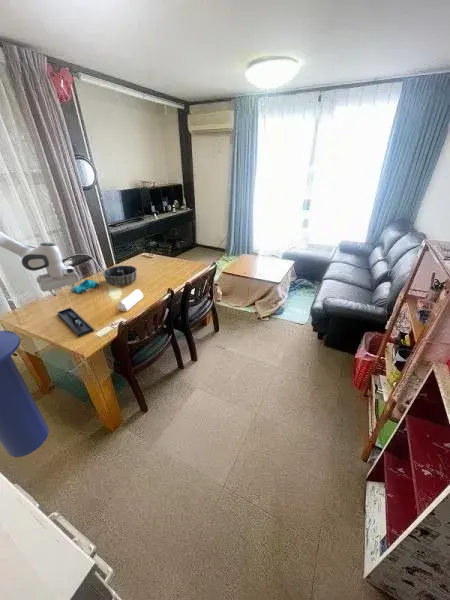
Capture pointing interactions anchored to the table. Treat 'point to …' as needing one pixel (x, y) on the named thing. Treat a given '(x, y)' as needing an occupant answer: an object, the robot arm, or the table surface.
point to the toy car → (85, 286)
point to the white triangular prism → (130, 300)
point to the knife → (75, 320)
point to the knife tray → (78, 330)
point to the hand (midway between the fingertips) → (63, 293)
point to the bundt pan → (120, 275)
